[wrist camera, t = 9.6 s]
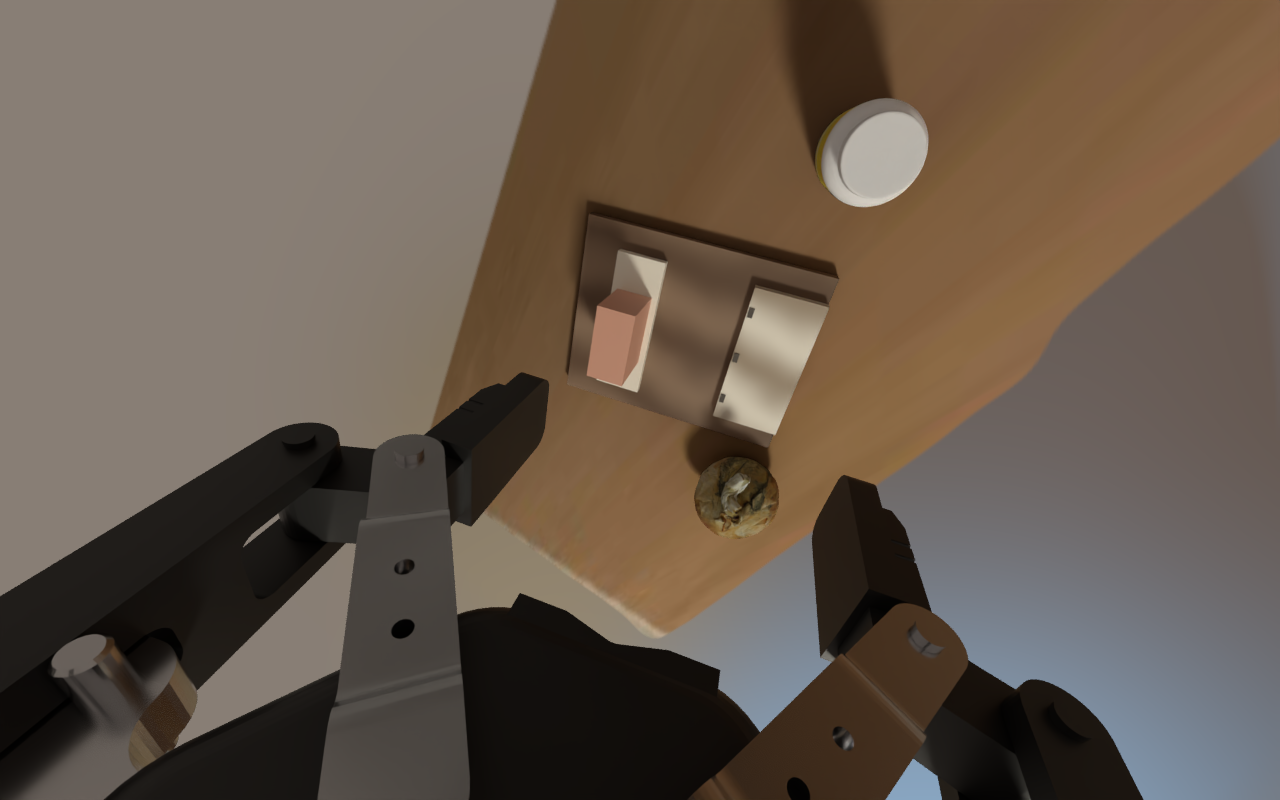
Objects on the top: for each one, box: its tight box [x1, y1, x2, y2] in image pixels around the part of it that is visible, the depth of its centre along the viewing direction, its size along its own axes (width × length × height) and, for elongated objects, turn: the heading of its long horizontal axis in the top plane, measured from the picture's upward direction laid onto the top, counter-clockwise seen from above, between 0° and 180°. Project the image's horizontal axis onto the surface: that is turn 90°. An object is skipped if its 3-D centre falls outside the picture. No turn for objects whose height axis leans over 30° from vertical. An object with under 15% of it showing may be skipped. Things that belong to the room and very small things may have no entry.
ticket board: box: [567, 213, 839, 448], centre depth 40 cm, size 16×20×2 cm
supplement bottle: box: [815, 98, 928, 207], centre depth 27 cm, size 5×5×10 cm
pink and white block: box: [587, 249, 668, 392], centre depth 38 cm, size 12×4×6 cm, turn 169°
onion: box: [694, 457, 779, 539], centre depth 43 cm, size 8×8×8 cm
